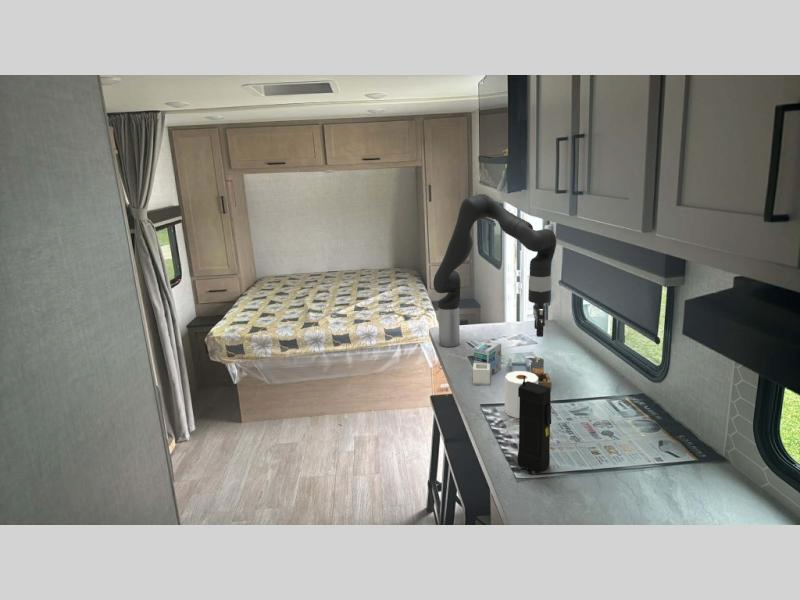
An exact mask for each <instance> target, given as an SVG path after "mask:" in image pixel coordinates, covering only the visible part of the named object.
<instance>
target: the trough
mask: <svg viewBox="0 0 800 600" xmlns="http://www.w3.org/2000/svg"><path fill="white" fill-rule="evenodd" d="M538 384H539V385H543V386H546V387H549V388H551V389H552V381H551V377H550V374H549V373H544V375H543V382H542V381H538Z"/></svg>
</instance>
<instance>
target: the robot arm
mask: <svg viewBox="0 0 800 600" xmlns="http://www.w3.org/2000/svg"><path fill="white" fill-rule="evenodd" d="M486 218H489V219H492V220H494V221H497V222H498V225H499V226H500V228H501V231H503V232H504V233H505V234H507V235H508V236H510V237H512V238H514V239H516V240H518V242H519V243H520V244H521V245H522V246H524V248H526V249H527V250H528V251H531V252H535V253H536V255H535V256H534V257H533V258H531V259H530V261H529V278H528V302H530V303H532V304H533V305H532V313H533V318H534V329H535V330H536V333H535V334H536V337H539V338H543V337H544V327H545V326H546V323H545V321H546V311H547V308H546V305H545V304H548V303H550V302H551V301H552V300H551V299H552V276H551V275H552V262H553V259H554V255H555V251H556V249H557V236H556V234H555V232H554V231H553V230H552V229H549V228H545V229H539V230H535V229H534V227H533V225H532V223H530V222H529V221H527V220H525V219H524V218H522V217H519V216H517V215H515V214H513V213H512V212H510V211H508V210H507V209H506V208H505V207H504V206H502V205H501V204H500V203H498V202H497V201H496V200H495V199H493V198H492V197H490V196H489V195H487V194H484V193H479V194H475V195H471V196H468V197H465V199H464V200H463V201H462V202H461V204H460V206H459V212H458V215H457V220H456V224H455V227H454V229H453V232H452V236H451V237H450V240H449V242H448V245H447V248H446V252H445V254H444V257H443V259H442V261H441V263H440V265H439V267H438V268H437V270H436V273H435V275H434V277H433V285H432V286H433V288H434V291H435V292H436V293H438V294H446V295H445V296H444V297H442V298H440V299H439V300H438V302H437V312H438V316H437V317H438V343H439V345H440V346H441V347H445V348H453V347H457V346H459V345H460V342H461V341H460V340H461V339H460V336H461V335H460V302H461V276H460V274H459V272H458V271H456V269H458V268H459V267H460V266H461V265H463V263H464V262H465V261H466V260H467V259H468V257H469V255H470V253H471V251H472V249H473V245H474V244H473V243H474V242H473V238H472V235H471V231H472V228H473V225H474V224H475V223H476V222H477V221H479V220H482V219H483V220H484V219H486Z"/></svg>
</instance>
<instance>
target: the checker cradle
mask: <svg viewBox="0 0 800 600" xmlns="http://www.w3.org/2000/svg"><path fill="white" fill-rule="evenodd" d="M505 365H506V366H507V367H506V374H507V373H510V372H514V371H526V372H530V373H532V362H529V358H525V362H522V361H520V362H519V361H518V362H513V361H512V358H511V357H510V358H508V363H506V364H505Z"/></svg>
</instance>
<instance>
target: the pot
mask: <svg viewBox="0 0 800 600" xmlns="http://www.w3.org/2000/svg"><path fill="white" fill-rule="evenodd" d="M472 385H474V386H475V385H476V386H490V385H491V376H490V364H484V363H474V362H473V366H472Z"/></svg>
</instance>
